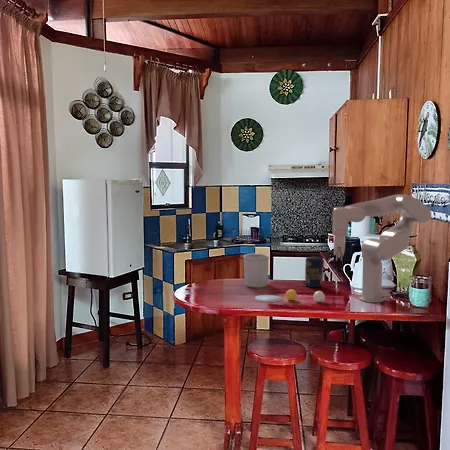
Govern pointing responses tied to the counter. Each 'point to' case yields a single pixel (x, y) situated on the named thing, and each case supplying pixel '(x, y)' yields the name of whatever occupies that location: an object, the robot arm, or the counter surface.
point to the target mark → (268, 298)
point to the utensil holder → (256, 270)
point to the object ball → (291, 294)
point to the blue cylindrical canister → (313, 271)
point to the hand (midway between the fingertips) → (339, 266)
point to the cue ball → (319, 296)
